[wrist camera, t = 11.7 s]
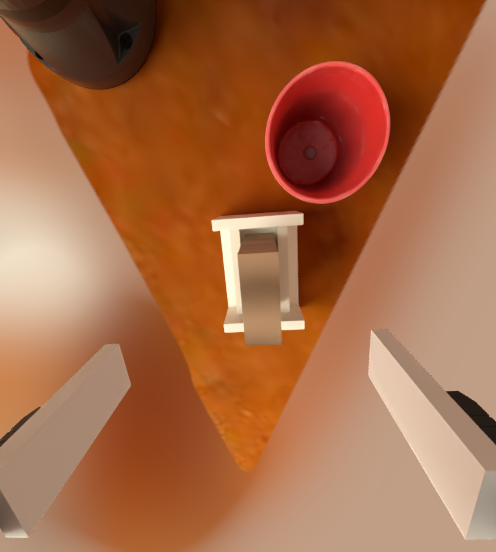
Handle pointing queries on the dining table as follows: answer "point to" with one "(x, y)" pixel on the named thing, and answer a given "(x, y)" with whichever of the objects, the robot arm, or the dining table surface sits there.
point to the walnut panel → (260, 289)
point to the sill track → (286, 242)
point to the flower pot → (327, 132)
